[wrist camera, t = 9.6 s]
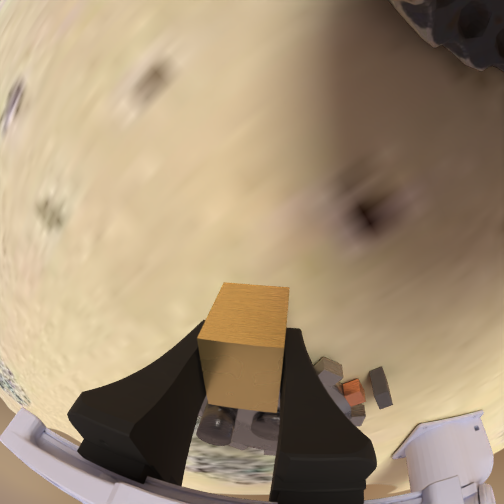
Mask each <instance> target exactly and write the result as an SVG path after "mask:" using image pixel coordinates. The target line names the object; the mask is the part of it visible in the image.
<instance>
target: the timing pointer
mask: <svg viewBox="0 0 504 504" xmlns="http://www.w3.org/2000/svg"><path fill="white" fill-rule="evenodd" d="M369 372H370V377H371V382H372V387H373V392H374V397H375V399H376V402H377V404H378V406H379V409H383V408H385V407H388V406H391V405H393V404H392V399H391V395H390V391H389V387H388V382H387V379H386V376H385V374H384V371H383V368H382V367H379V368H377V369H374V370H372V371H369Z"/></svg>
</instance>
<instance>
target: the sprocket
mask: <svg viewBox="0 0 504 504" xmlns="http://www.w3.org/2000/svg"><path fill="white" fill-rule="evenodd" d="M313 367H314V369H315V371H316V373H317V375H318V376H319V378H320V380H321V382H322V384H323V385H324V387H325V389H326V390H327V392H328V393H329V395H330V396H331V398H332V399H333V400H334V402H335V403H336V404H337V406H338V407H339V408H340V409H341V411H342V412H343V413H344V414H345V415H346V417H347V418H348V419H349V420H350V421H351V422H352V423H353V424H354V425H355V426H361V425H362V423H363V421H364V419H365V417H366V414H365V407H364V405H358V404H361V403H364V402H366V399H365V393H364V389H363V387H362V385H361V383H360V381H359V379H356V380H353V381H351V382H348V383H345V384H343V385H342V384H341V383H340V382H339V381H340V380H341V379H342V378H343V372H342V365H341V364H339V363H336V362H334V361H332V360H330V359H328V358H325V357H323V358H322V359H321V360H320V361H319V362H317V363H316V364H315V365H314V366H313ZM198 416H201V417H202V418H201V421H200V424H199V427H198V430H197V433H196V434H197V436H198V437H199V438H200V439H201V440H203V441H204V442H207V443H209V444H213V445H218V446H225V445H230V446H232V447H235V448H238V449H241V450H244V449H246V448H247V447H253V448H257V449H263V450H264V455H276V450H277V443H278V435H279V425H280V391H279V399H278V408H277V413H272V412H262V411H253V410H245V409H238V408H231V407H224V406H218V405H212V404H208V399H207V394H206V397H205V399H204V402H203V404H202V406H201V409H200V412H199V414H198Z"/></svg>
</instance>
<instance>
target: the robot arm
mask: <svg viewBox="0 0 504 504" xmlns="http://www.w3.org/2000/svg"><path fill="white" fill-rule="evenodd" d="M205 321H206V320H203V321H202V322H201V323H200V324H199V325H197V326H196V327H195V328H194V329H193V330H192V331H191V332H190V333H189V334H188V335H187V336H186V337H185V338H183V339H182V340H181V341H180V342H179V343H178V344H177V345H175V346H174V347H173V348H172V349H170V350H169V351H168V352H167V353H165V354H164V355H163V356H161V357H160V358H159V359H157V360H156V361H154V362H153V363H151V364H150V365H148V366H147V367H145V368H143V369H141V370H140V371H138V372H136V373H134V374H132V375H130V376H128V377H126V378H124V379H121V380H119V381H116V382H114V383H111V384H108V385H106V386H103V387H99V388H96V389H92V390H88V391H84V392H82V393H81V394H80V396H79V397H78V398H77V400H76V401H75V403H74V404H73V406H72V407H71V409H70V410H69V412H68V414H67V415H68V418H69V421H70V422H71V423H72V425H73V426H74V427H75V429H76V430H77V431H78V432H79V433H80V435H81V436H82V437H83V438H84V440H83V441H82V443H81V445H80V446H77V445H75V444H74V443H72V442H70V441H68V440H66V439H65V438H63V437H61V436H59V435H58V434H56V433H54V432H53V431H51V430H49V429H48V428H46V426H45V425H44V423H43V422H42V421H41V420H40V419H39V418H38V417H37V416H35V415H34V414H32V413H31V412H29V411H28V410H26V409H25V408H24V407H22V408H21V409H20V410H19V411H18V413H17V414H16V415H15V417H14V418H13V420H12V421H11V422H10V424H9V425H8V426H7V428H6V429H5V431H4V432H3V433H2V435H1V436H0V441H1V442H2V443H3V444H4V445H5V446H6V447H7V448H8V449H9V450H10V451H12V453H14V454H15V455H16V456H17V457H18V458H19V459H20V460H21V461H23V462H24V463H25V464H26V465H28V466H29V467H30V468H31V469H33V470H34V471H35V472H37V473H38V474H39V475H41V476H42V477H43V478H45V479H46V480H48V481H49V482H51V483H52V484H53V485H55V486H56V487H58V488H59V489H61V490H62V491H64V492H65V493H67V494H69V495H71V496H72V497H74V498H75V499H77V500H79V501H80V502H82V503H84V504H496V502H495V497H494V493H493V490H492V487H491V485H490V484H486V483H483V482H485V481H486V480H487V478H488V477H489V475H490V473H491V471H492V467H493V452H492V449H491V446H490V443H489V440H488V437H487V434H486V431H485V428H484V426H483V423H482V420H481V418H480V417H481V416H482V415H483V413H484V412H483V410H480V411H477V412H473V413H469V414H465V415H461V416H457V417H452V418H448V419H443V420H438V421H433V422H427V423H421V424H419V425H417V427H416V428H415V429H414V430H413V432H412V433H411V434H410V435H409V437H408V438H407V439H406V440H405V442H404V443H403V444H402V445H401V446H400V447H399V449H398V450H397V451H396V452H395V453H394V454H393V455H392V459H398V458H404V457H406V461H407V468H408V474H409V482H410V490H411V493H408V494H403V495H398V496H392V497H387V498H380V499H372V500H364V489H366V478H367V477H368V476H369V475H370V474H371V473H372V472H373V471H374V470H375V469H376V467H377V459H376V455H375V451H374V448H373V445H372V442H371V440H370V439H369V438H368V437H367V436H366V435H364V434H363V433H362V432H361V431H360V430H359V429H358V428H357V427H356V426H355V425H354V424H353V423H352V422H351V421H350V420H349V419H348V418H347V417H346V415H345V414H344V413H343V412H342V411H341V409H340V408H339V407H338V406H337V404H336V403H335V402H334V400H333V399H332V398H331V396H330V395H329V393H328V392H327V390H326V389H325V387H324V385H323V384H322V382H321V380H320V378H319V376H318V375H317V373H316V371H315V369H314V367H313V364H312V362H311V360H310V357H309V355H308V353H307V350H306V347H305V344H304V341H303V337H302V331H301V330H300V329H297V328H286V334H285V344H284V354H283V364H282V373H281V382H280V425H279V435H278V443H277V450H276V457H275V464H274V471H273V478H272V484H271V491H270V497H269V502H266V501H256V500H248V499H240V498H234V497H228V496H222V495H217V494H212V493H207V492H202V491H198V490H194V489H190V488H186V487H182V480H183V475H184V470H185V465H186V460H187V456H188V452H189V447H190V443H191V439H192V436H193V432H194V428H195V425H196V421H197V417H198V414H199V412H200V409H201V406H202V404H203V402H204V399H205V397H206V389H205V383H204V378H203V372H202V366H201V360H200V354H199V348H198V341H197V337H198V335H199V333H200V331H201V329H202V327H203V325H204V323H205ZM482 483H483V484H482Z"/></svg>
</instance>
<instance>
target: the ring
mask: <svg viewBox="0 0 504 504" xmlns="http://www.w3.org/2000/svg"><path fill="white" fill-rule="evenodd" d="M388 1H389V2H390V3H391V4H392V5H393V7H394V8H395V9H396V10H397V11H398V13H399V14H400V15H401V16H402V17H403V19H404V20H405V21H406V22H407V23H408V24H409V25H410V26H411V27H412V28H413V29H414V30H415V31H416V32H417V34H418V35H419V36H420V37H421V38H422V39H423V40H424V41H425V42H427V43H428V44H429V45H431V46H432V47H434V48H436V47H438V46H440V45H443V46H444V47H446V48H447V49H448V50H449V51H450V52H452V53H453V54H454V55H455V56H456V57H457V58H458V59H460V60H461V61H462V62H463V63H464V64H465V65H467V66H469V67H471V68H474V69H476V70H478V71H483V70H485V69H486V68H488V67H489V66H495V67H497V68H499V69H501V70H502V71H503V72H504V0H388Z"/></svg>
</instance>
